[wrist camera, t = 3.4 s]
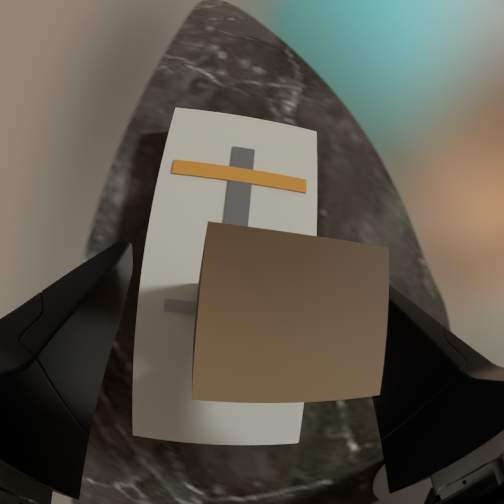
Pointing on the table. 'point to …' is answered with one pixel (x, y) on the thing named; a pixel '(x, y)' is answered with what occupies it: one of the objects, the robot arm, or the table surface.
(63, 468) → the robot arm
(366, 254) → the lever
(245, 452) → the table surface
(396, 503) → the beverage can
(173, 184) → the fader console
